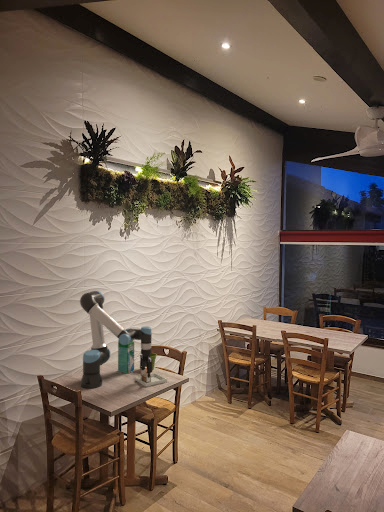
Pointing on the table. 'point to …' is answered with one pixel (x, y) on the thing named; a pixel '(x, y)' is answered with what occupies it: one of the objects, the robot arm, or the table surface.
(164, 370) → the table surface
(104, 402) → the table surface
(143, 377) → the walnut cube
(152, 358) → the plant pot
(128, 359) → the milk carton
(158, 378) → the pale grey tray
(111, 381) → the table surface
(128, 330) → the robot arm
